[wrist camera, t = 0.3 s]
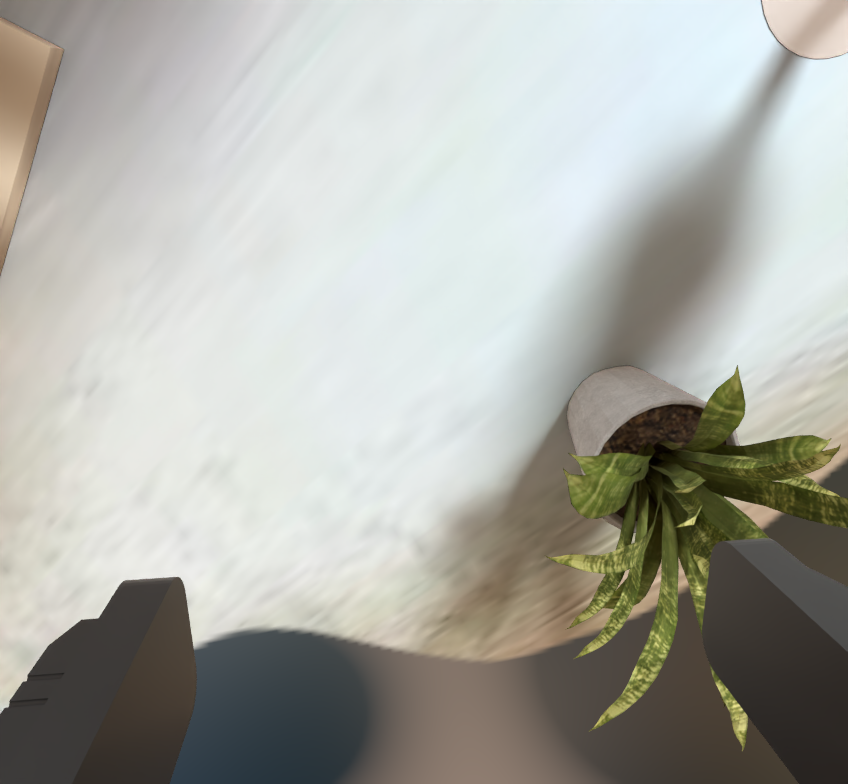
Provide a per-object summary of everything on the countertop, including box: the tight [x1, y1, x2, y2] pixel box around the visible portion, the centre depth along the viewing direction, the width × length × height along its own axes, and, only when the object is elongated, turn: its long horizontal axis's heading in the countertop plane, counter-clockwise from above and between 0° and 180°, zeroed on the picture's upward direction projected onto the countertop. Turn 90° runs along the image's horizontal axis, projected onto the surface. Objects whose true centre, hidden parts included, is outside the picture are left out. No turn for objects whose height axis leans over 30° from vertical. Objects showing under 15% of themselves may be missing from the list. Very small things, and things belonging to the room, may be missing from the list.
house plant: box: [544, 365, 848, 749], centre depth 27 cm, size 14×14×16 cm
